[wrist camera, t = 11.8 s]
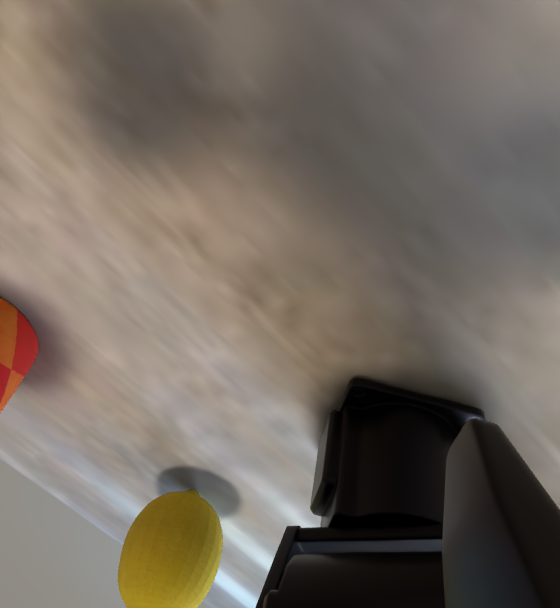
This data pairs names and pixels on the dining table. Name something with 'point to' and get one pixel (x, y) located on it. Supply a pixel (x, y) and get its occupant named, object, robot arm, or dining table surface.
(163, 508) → the lemon
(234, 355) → the dining table surface
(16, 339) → the paper cup
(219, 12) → the dining table surface
